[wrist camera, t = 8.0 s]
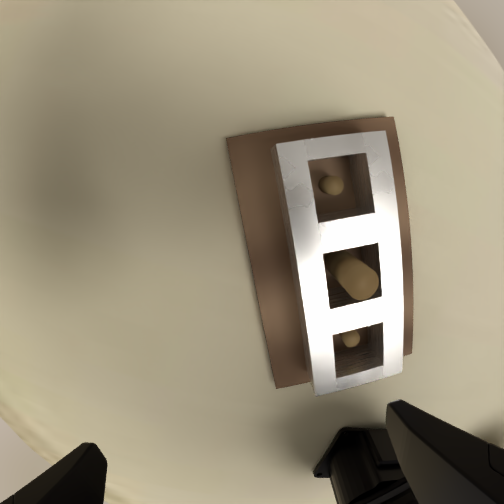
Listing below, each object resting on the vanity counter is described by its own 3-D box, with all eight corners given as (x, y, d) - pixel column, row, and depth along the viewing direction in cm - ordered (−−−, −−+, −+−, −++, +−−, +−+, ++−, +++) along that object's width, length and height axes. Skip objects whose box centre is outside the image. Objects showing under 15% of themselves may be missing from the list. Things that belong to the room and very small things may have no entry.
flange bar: (385, 350, 20) (402, 372, 17) (307, 371, 20) (315, 396, 17) (365, 136, 17) (385, 130, 14) (270, 149, 17) (276, 143, 14)
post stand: (407, 348, 21) (439, 384, 16) (275, 382, 21) (283, 430, 16) (387, 118, 17) (429, 104, 13) (226, 140, 18) (221, 125, 13)
